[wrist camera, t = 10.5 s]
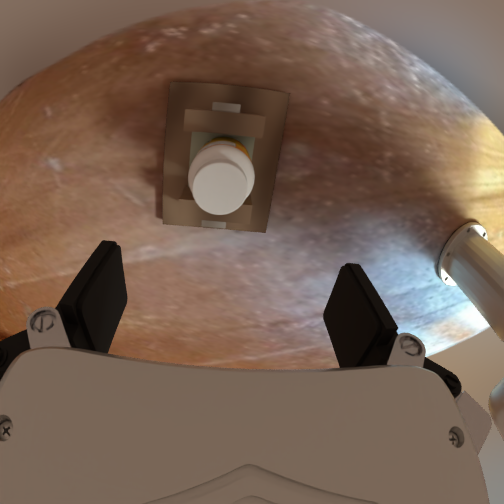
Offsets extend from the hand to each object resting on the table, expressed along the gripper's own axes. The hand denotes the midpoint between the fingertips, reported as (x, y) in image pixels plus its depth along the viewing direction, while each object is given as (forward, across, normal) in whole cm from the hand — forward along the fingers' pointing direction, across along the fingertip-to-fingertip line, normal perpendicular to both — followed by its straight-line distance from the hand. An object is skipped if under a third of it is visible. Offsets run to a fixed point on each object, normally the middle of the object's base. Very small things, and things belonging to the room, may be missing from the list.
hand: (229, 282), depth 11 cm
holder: (+20, +1, -1) cm, 21 cm away
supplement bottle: (+20, +1, -1) cm, 20 cm away
